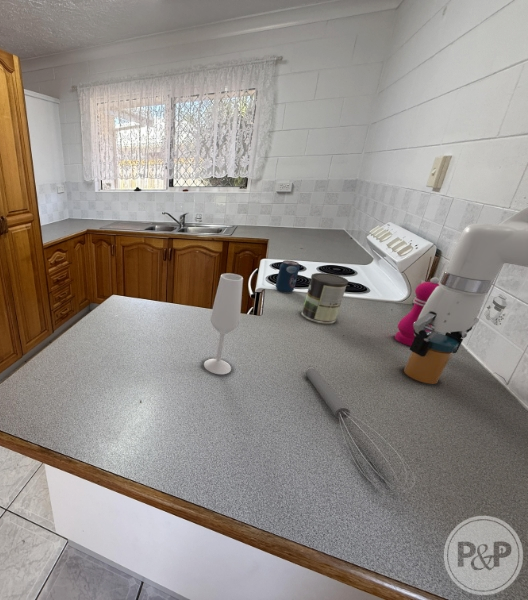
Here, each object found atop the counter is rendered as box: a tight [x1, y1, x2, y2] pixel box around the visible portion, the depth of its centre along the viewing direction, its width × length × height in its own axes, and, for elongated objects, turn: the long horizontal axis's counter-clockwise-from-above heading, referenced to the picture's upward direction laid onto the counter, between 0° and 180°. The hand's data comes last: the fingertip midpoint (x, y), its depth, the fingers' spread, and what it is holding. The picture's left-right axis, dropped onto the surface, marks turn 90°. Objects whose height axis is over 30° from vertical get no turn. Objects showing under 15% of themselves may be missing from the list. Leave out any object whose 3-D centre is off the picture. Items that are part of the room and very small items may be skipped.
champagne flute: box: [203, 273, 244, 375], centre depth 74 cm, size 7×7×24 cm
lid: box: [425, 331, 459, 353], centre depth 73 cm, size 7×7×2 cm
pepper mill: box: [394, 276, 440, 347], centre depth 88 cm, size 7×7×20 cm
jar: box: [403, 348, 454, 385], centre depth 75 cm, size 6×6×10 cm
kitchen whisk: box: [305, 365, 416, 497], centre depth 61 cm, size 6×34×6 cm, turn 173°
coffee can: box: [301, 272, 349, 325], centre depth 103 cm, size 10×10×14 cm
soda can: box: [275, 259, 300, 294], centre depth 126 cm, size 7×7×12 cm
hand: (432, 351), depth 74 cm, fingers open, 8 cm apart
